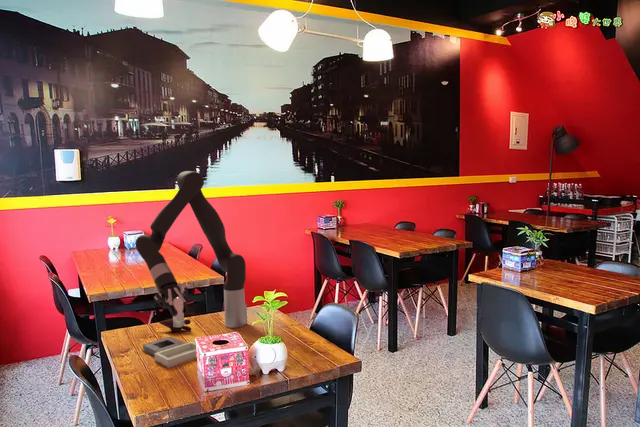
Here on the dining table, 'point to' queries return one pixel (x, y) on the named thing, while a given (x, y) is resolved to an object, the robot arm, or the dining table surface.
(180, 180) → the robot arm
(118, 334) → the dining table surface
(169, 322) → the brown lobed piece
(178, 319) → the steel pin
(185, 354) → the tray
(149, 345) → the plate
